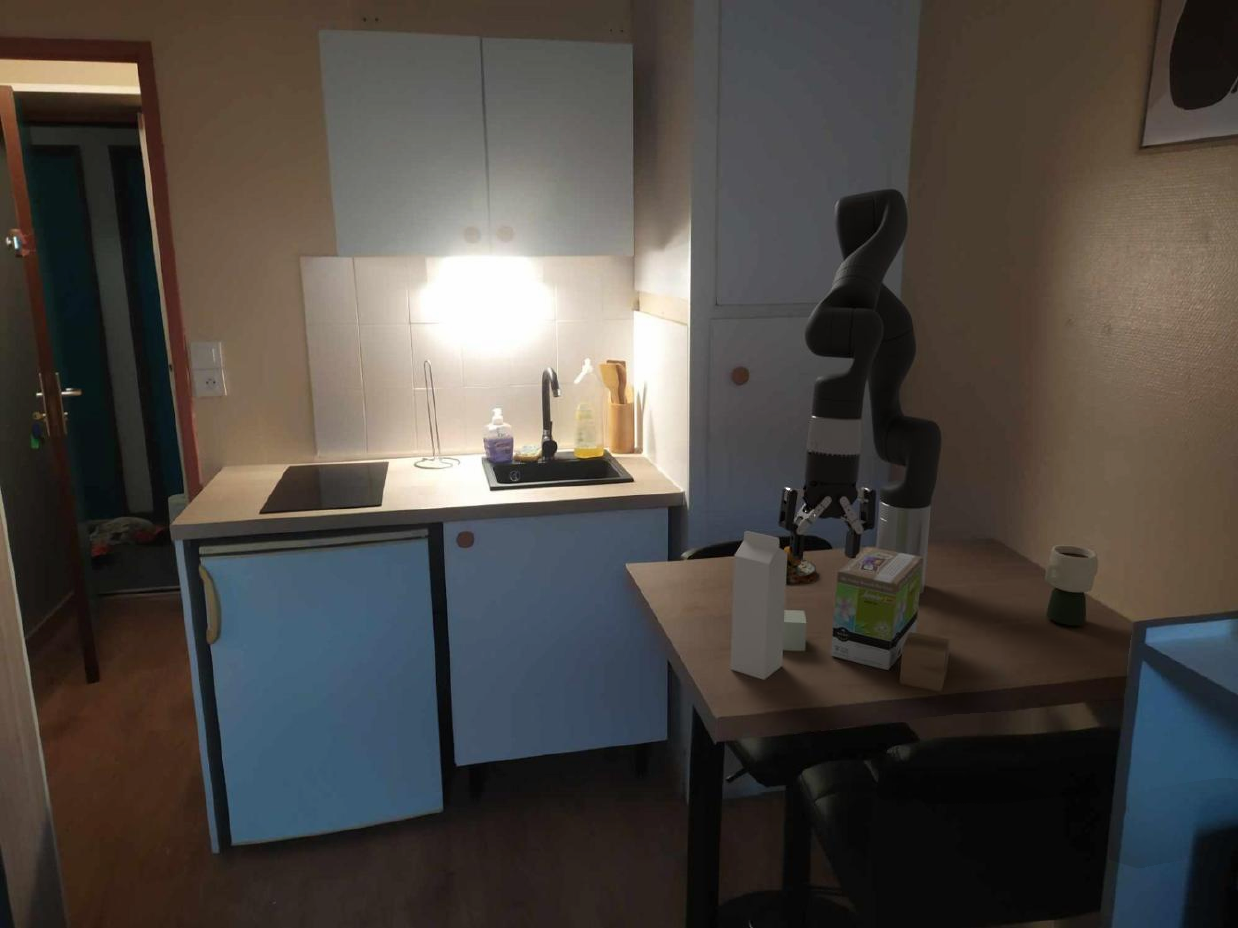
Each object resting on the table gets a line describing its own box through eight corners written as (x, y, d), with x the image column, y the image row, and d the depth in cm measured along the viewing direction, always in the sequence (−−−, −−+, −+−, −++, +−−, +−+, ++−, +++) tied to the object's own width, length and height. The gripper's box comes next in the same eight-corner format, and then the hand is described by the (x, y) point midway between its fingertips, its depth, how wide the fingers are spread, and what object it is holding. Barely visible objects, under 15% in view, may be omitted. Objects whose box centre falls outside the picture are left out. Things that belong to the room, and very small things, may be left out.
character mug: (1074, 609, 169) (1083, 541, 165) (1105, 625, 162) (1115, 554, 159) (1025, 617, 165) (1033, 548, 162) (1055, 634, 159) (1064, 561, 155)
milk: (748, 656, 150) (753, 525, 145) (782, 666, 147) (789, 532, 142) (729, 670, 146) (734, 535, 140) (764, 680, 142) (770, 543, 137)
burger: (785, 560, 194) (787, 526, 193) (828, 577, 185) (830, 541, 183) (743, 572, 188) (744, 536, 186) (785, 590, 178) (787, 553, 177)
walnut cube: (906, 667, 147) (909, 631, 145) (946, 674, 144) (949, 639, 143) (899, 683, 142) (902, 647, 140) (941, 691, 139) (944, 654, 138)
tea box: (891, 672, 145) (898, 583, 141) (828, 657, 150) (834, 570, 147) (917, 637, 157) (924, 554, 154) (858, 624, 163) (864, 543, 159)
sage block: (772, 637, 158) (773, 609, 156) (802, 638, 157) (803, 610, 156) (774, 649, 153) (775, 621, 152) (805, 651, 152) (806, 622, 151)
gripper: (864, 445, 140) (854, 550, 142) (777, 443, 136) (768, 552, 138) (891, 453, 133) (880, 563, 135) (799, 451, 129) (790, 565, 131)
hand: (823, 557), depth 137 cm, fingers open, 8 cm apart
